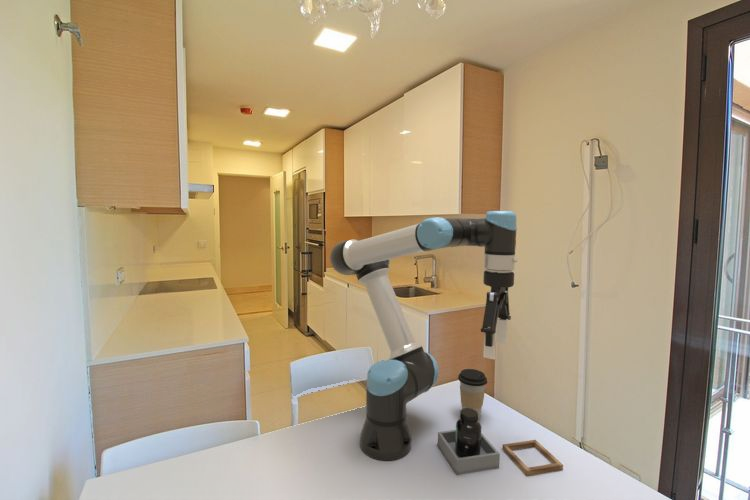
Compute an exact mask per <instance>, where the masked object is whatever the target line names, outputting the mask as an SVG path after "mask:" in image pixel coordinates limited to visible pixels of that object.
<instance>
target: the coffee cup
mask: <svg viewBox="0 0 750 500" xmlns="http://www.w3.org/2000/svg"><path fill="white" fill-rule="evenodd" d="M457 379H458V381H459V383H460V384H459V390H460V392H459V393H460V404H461V409H463V408H470V409H473V410H475V411H477V412H478V421H480V419H481V415H482V407H483V404H484V400H485V392H486V385H487V384H488V378H487V377H486V374H485V373H484V372H482V371H481V370H478V369H473V368H466V369H462V370H461V371H460V373H459V374H458V376H457Z"/></svg>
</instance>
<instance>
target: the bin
mask: <svg viewBox="0 0 750 500" xmlns="http://www.w3.org/2000/svg"><path fill="white" fill-rule="evenodd" d="M455 439H456V429H452V430H445V431H438V432H437V447H438V448H439V450H440V451H441V453H442V455H443V456H444V457H445V460H446V462H448V463H449V466H450V467H451V468H452V470H453V471H454V473H455V474H456V476H458V475H464V474H470V473H477V472H482V471H488V470H494V469H495V470H496V469H499V468H500V459H501V458H500V457H501V453H500V451H498V450H497V449H496V447H494V446H493V444H492V443H490V441H489V440H488V439H487V438H486V436H485V435H484V434H483V433H482V432H481V448H480V455H476V456H470V457H463V458H460V457H459V456H458V455H457V454H456V451H455Z"/></svg>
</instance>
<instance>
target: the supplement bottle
mask: <svg viewBox="0 0 750 500" xmlns="http://www.w3.org/2000/svg"><path fill="white" fill-rule="evenodd" d="M459 412H460V413H459V414H460V415H459V418H457V420H456V423H455V430H456V439H455V451H456V454H457V455H458V456H459V457H460V458H463V457H470V456H476V455H480V448H481V433H482V425H481V422H480V420H478V412H477V411H475V410H473V409H470V408H463V409H462V408H461V409H460V411H459Z"/></svg>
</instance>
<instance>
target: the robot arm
mask: <svg viewBox="0 0 750 500" xmlns="http://www.w3.org/2000/svg"><path fill="white" fill-rule="evenodd" d="M517 231H518V228H517V214H516V213H515V211H512V210H492V211H491V210H490V211H486V214H485V217H484V218H463V217H460V218H459V217H458V218H457V217H452V218H451V217H439V216H438V217H437V216H436V217H430V218H426V219H424V220H423V221H421V222H420V223H416V224H413V225H409V226H405V227H403V228H398V229H395V230H392V231H389V232H386V233H381V234H378V235H375V236H372V237H368V238H364V239H354V238H353V239H349V240H342V241H340V242H337V243H336V244H335V245H334V246H333V247H332V249H331V251H330V253H329V261H330V265H331V267H332V268H333V269H334V271H335V272H337V273H338V274H341V275H344V276H354V275H355V277H356V278H357V279H356V280H357V281H358V283H359V284H361V285H364V287H365V290H366V292H367V294H368V297H369V301H370V303H371V305H372V307H373V310H374V312H375V316H376V318H377V321H378V323H379V325H380V328H381V330H382V333H383V335H384V339H385V340H386V343H387V345H388V348H389V350H390V355H389V357H388V359H386V360H380V361H376V362H375V363H373V364H372V365H371V366H370V367H369V368H368V370H367V375H366V381H365V382H366V383H365V384H366V385H365V387H366V393H365V394H366V396H365V397H366V400H365V401H366V405H365V406H366V410H365V411H366V413H365V414H366V416H365V420H364V423H363V425H362V428H361V432H360V435H359V446H360V449H361V450H362V452H363V453H365V455H367V456H369V457H370V458H371V459H375V460H380V461H395V460H399V459H400V458H403V457H405V456H406V455H408V453H409V452H410V450H411V449H412V434H411V431H410V429H409V425H408V421H407V404H408V403H409V402H412V401H413V400H414V399H415V398H417V397H418V396H420V395H423V394H424V393H427V392H429V390H431V388H432V387H434V386H435V384H436V383H437V381H438V378H439V366H438V362H437V361H436V359H435V357H434V356H433V355H432V354H430V353H429V352H427V351H425V350H424V348H423V346H422V344H420V343H418V342H416V340H415V338H414V336H413V333H412V331H411V329H410V328H411V327H410V326H409V324H408V322H407V321H408V320H407V318H406V317H405V314H404V312H403V310H402V307H401V304H400V303H399V300H398V297H397V294H396V293H395V290H394V287H393V285H392V284H391V280H390V279H389V273H390V270H391V269H390V263H391V260H393V259H396V258H403V257H406V256H410V255H416V254H421V253H424V252H429V251H434V250H435V251H436V250H438V249H444V248H453V247H456V248H457V247H464V246H465V247H466V246H467V247H468V246H469V247H482V248H483V247H484V257H483V259H484V261H483V268H484V269H485V270H484V271H483V285H485V286H488V287H490V291H487V292H486V302H485V307H484V315H483V321H482V327H481V328H480V332H481V333H483V356H482V357H483V358H485V359H490V360H496V345H497V343H500V344H505V345H506V344H507V341H508V325H509V324H508V322H509V321H510V320H512V316H511V313H510V302H509V301H510V300H509V298H510V297H509V289H510V288H511V287H513V286H514V284H515V273H514V272H513V271H515V263H517V262H518V259H517V258H515V257H516V245H517V244H516V243H517Z"/></svg>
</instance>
